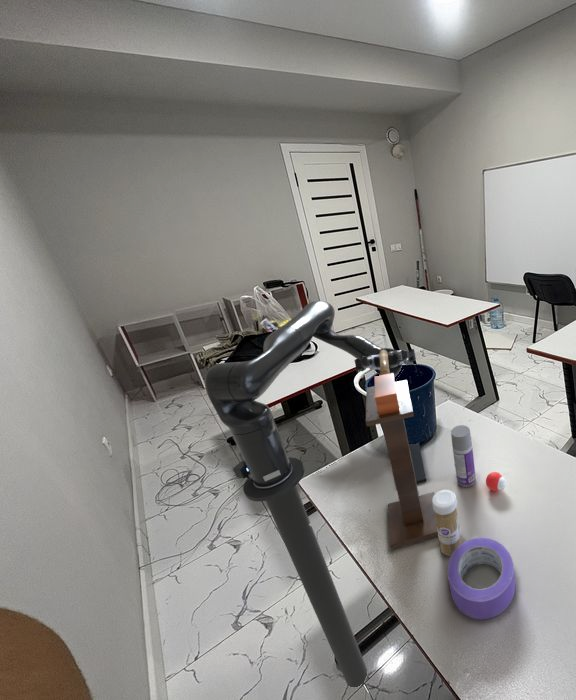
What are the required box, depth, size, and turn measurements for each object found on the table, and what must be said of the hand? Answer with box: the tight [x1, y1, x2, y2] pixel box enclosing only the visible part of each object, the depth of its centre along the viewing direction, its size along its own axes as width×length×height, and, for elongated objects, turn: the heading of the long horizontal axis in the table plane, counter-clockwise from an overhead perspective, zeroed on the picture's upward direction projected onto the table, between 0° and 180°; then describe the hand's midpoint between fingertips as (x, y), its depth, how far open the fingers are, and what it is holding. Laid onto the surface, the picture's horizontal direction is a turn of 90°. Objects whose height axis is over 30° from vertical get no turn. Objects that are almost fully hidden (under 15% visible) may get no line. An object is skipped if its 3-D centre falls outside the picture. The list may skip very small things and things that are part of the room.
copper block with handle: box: [373, 350, 400, 415], centre depth 71 cm, size 23×4×4 cm, turn 14°
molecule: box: [485, 471, 507, 492], centre depth 84 cm, size 5×5×4 cm
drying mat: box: [409, 442, 427, 484], centre depth 96 cm, size 16×7×1 cm, turn 14°
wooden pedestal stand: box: [365, 379, 439, 551], centre depth 72 cm, size 12×11×32 cm
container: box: [450, 424, 477, 488], centre depth 85 cm, size 5×5×15 cm
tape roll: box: [447, 536, 516, 620], centre depth 64 cm, size 12×12×5 cm
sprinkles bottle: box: [432, 489, 463, 557], centre depth 70 cm, size 5×5×14 cm
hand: (384, 357), depth 80 cm, fingers open, 8 cm apart
